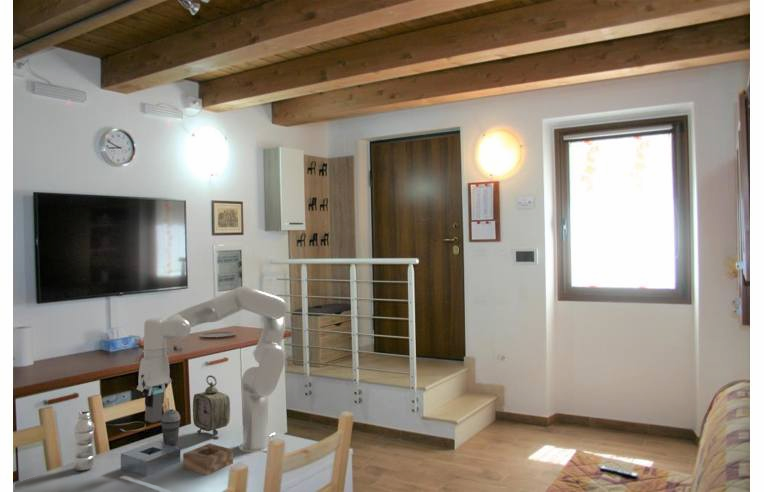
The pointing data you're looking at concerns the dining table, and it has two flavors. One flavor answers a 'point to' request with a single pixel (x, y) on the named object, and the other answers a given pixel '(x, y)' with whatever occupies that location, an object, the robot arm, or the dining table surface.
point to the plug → (155, 406)
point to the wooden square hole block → (208, 459)
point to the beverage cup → (170, 426)
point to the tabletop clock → (211, 409)
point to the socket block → (150, 458)
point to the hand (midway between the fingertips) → (154, 404)
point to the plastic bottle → (84, 442)
